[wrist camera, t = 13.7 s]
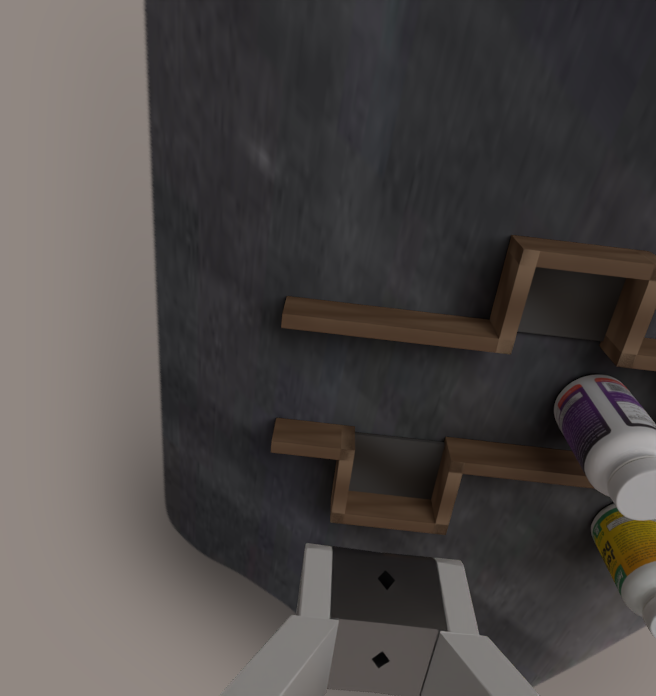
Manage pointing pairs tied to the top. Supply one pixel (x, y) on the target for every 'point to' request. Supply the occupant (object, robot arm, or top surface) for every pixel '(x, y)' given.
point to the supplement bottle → (629, 559)
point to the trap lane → (483, 335)
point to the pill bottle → (611, 442)
